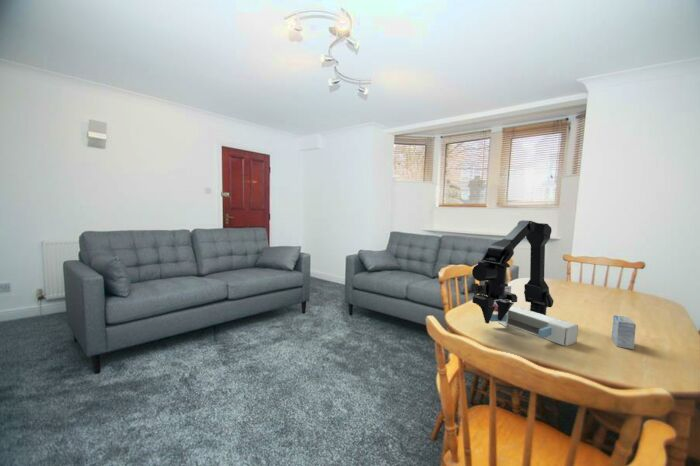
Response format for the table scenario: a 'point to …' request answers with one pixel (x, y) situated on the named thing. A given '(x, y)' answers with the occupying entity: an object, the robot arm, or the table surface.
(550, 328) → the flap
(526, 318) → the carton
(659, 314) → the table surface
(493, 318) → the flap
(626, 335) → the medicine box
